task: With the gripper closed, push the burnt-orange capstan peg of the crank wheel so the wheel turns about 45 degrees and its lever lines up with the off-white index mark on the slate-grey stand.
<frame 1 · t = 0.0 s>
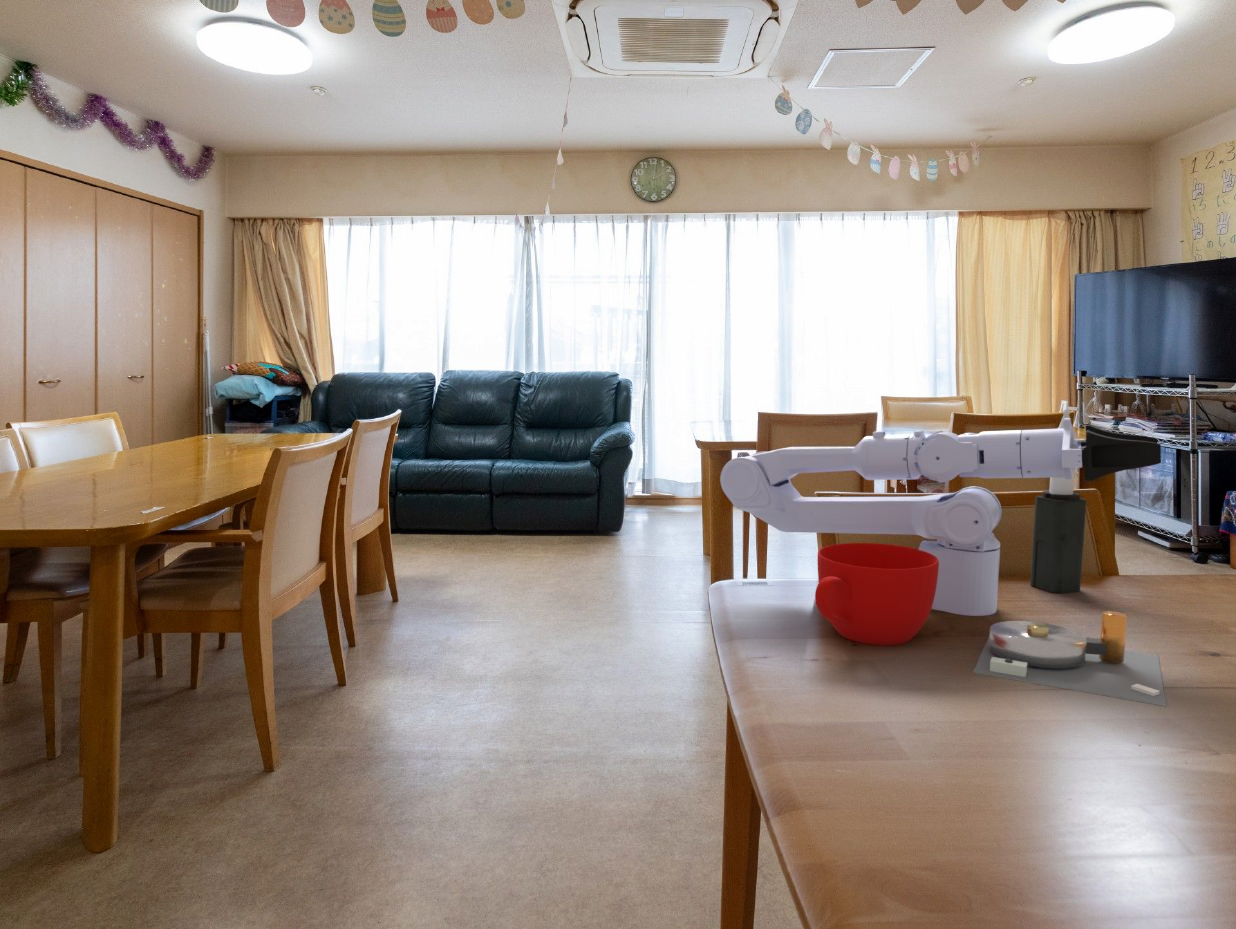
hand: (1159, 450, 93), 22 cm above the table, tool horizontal, fingers open, 7 cm apart
crank wheel: (1056, 632, 86), point 4 cm above the table, hinge at 45.0°
ceramic cup: (863, 647, 93), on the table
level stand: (1067, 673, 85), on the table
candle: (1054, 589, 117), on the table
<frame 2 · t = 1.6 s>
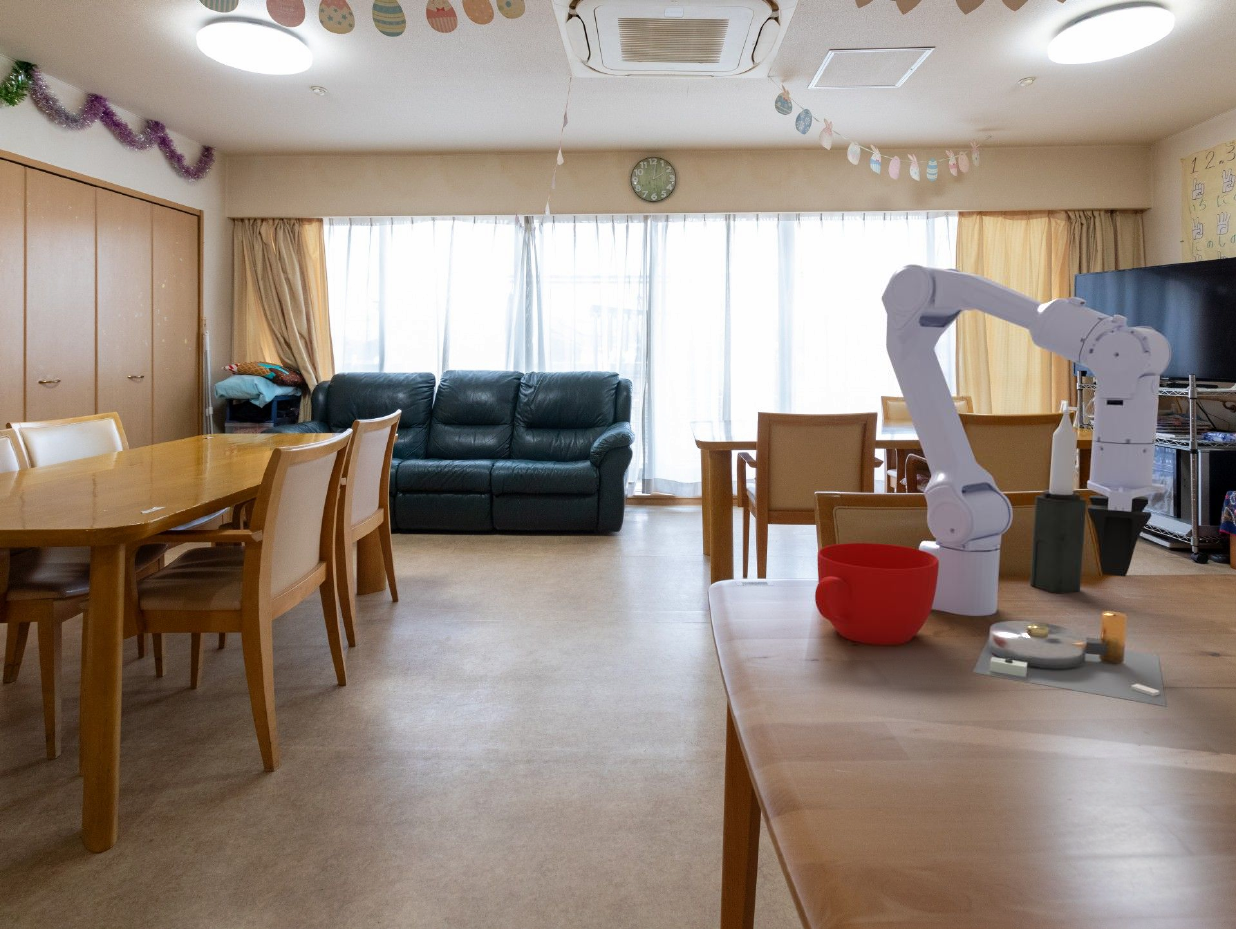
hand: (1113, 567, 90), 9 cm above the table, tool pointing down, fingers open, 7 cm apart
nothing on the table moved.
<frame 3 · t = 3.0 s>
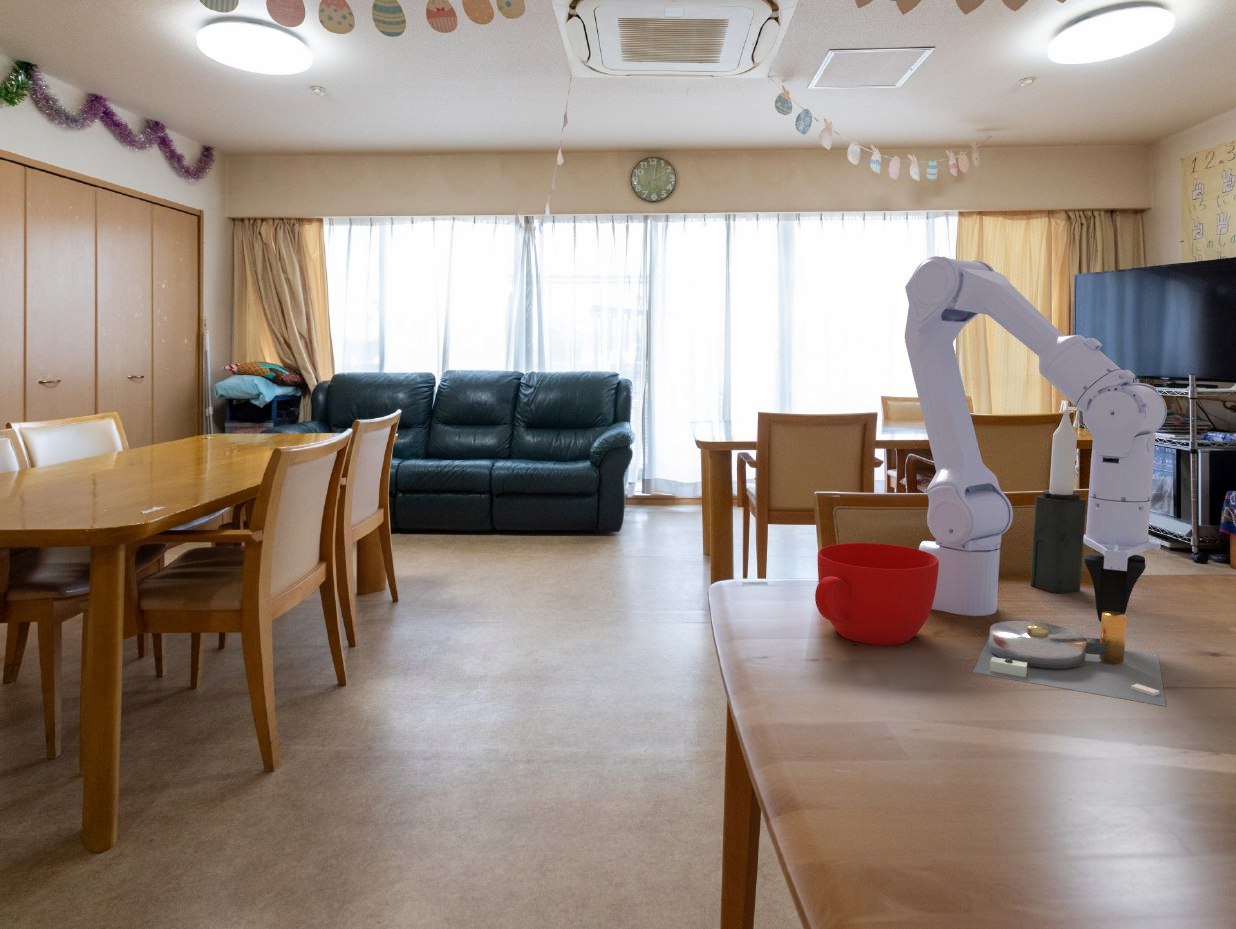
hand: (1109, 621, 91), 3 cm above the table, tool pointing down, fingers closed
nothing on the table moved.
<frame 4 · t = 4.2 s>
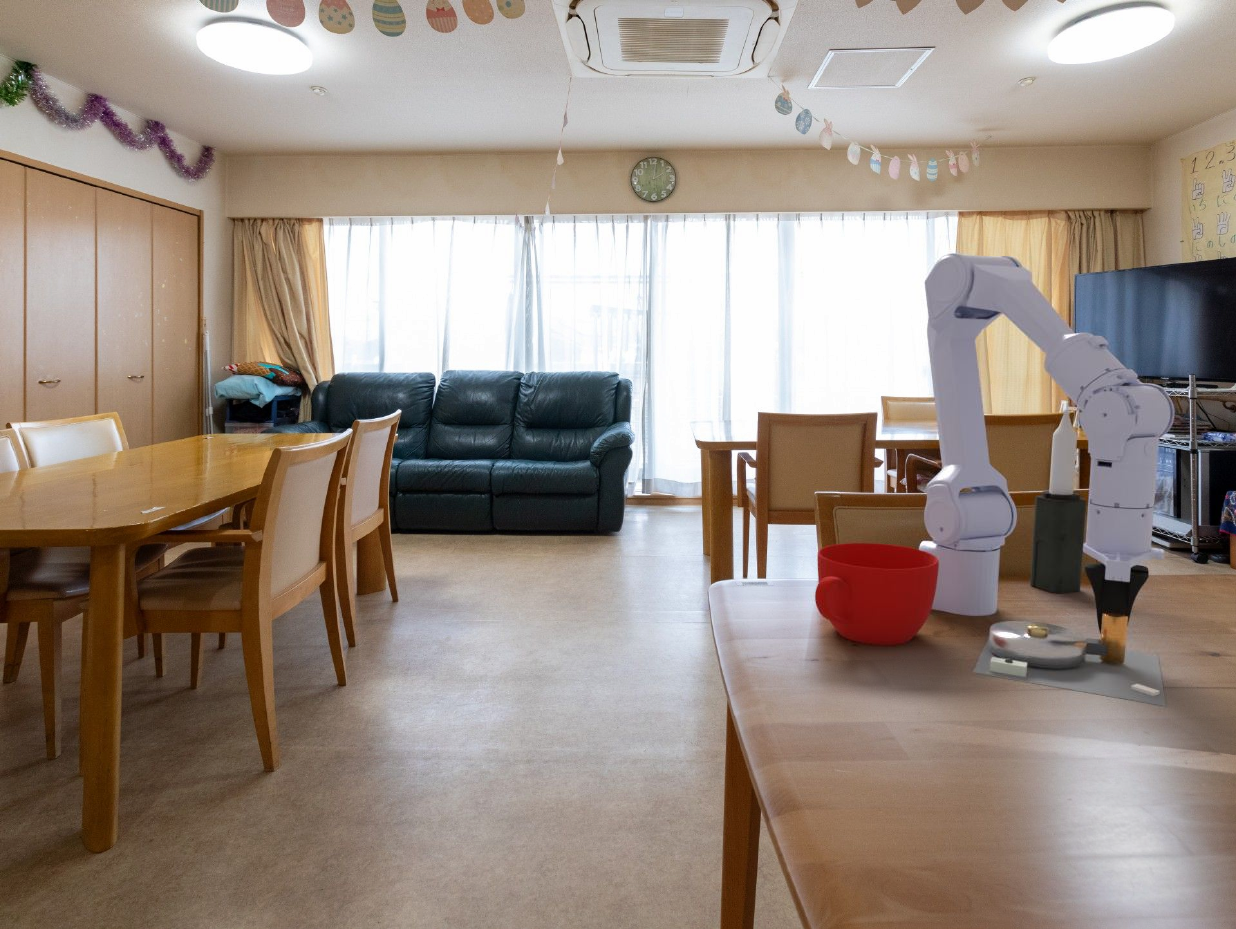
hand: (1111, 634, 86), 3 cm above the table, tool pointing down, fingers closed, pressing on crank wheel
crank wheel: (1056, 632, 86), point 4 cm above the table, hinge at 43.1°, touching gripper
everything else where it was.
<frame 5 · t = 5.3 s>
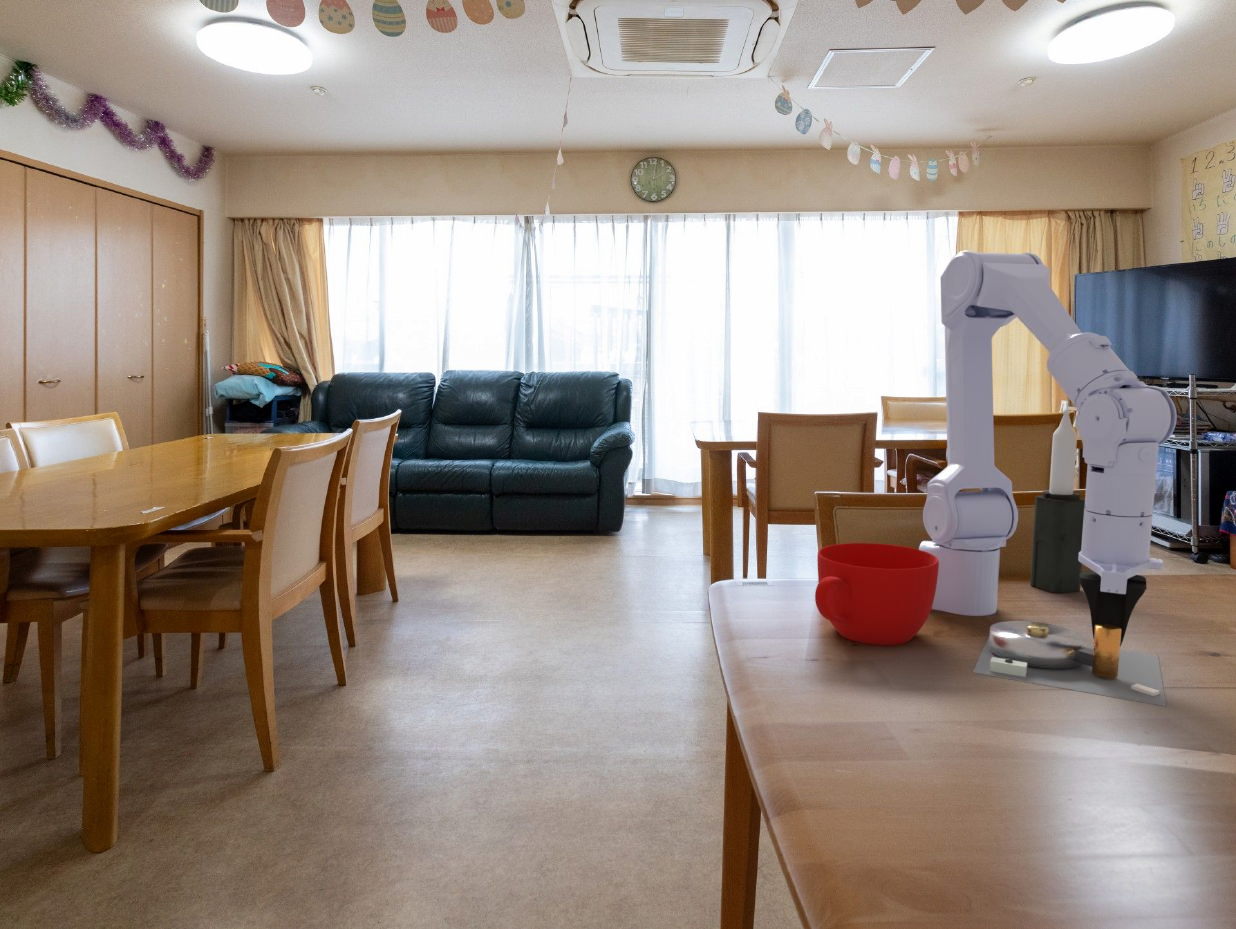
hand: (1107, 647, 83), 3 cm above the table, tool pointing down, fingers closed
crank wheel: (1054, 635, 85), point 4 cm above the table, hinge at 2.7°, touching gripper
everything else where it was.
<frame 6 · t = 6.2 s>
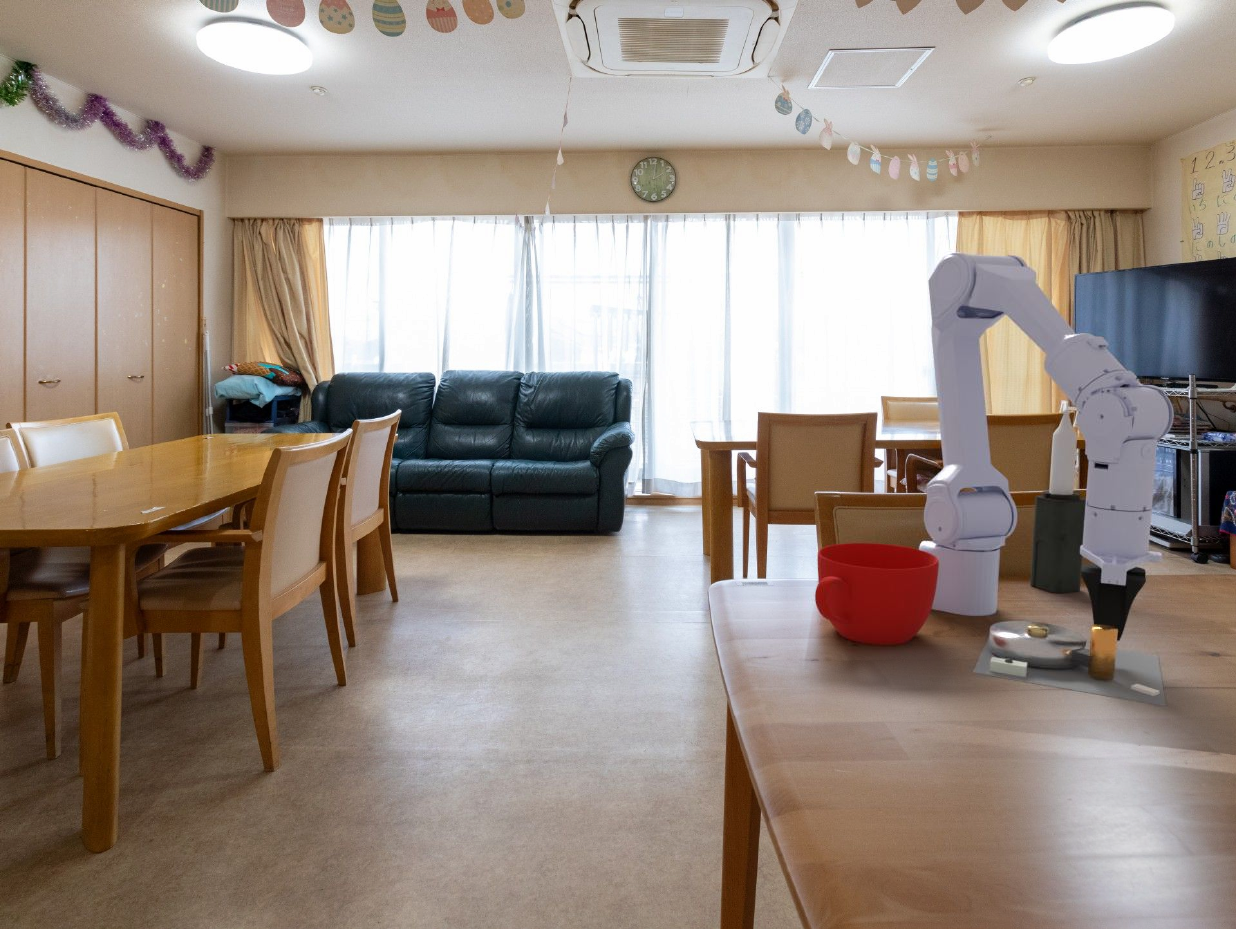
hand: (1107, 637, 86), 3 cm above the table, tool pointing down, fingers closed
crank wheel: (1053, 635, 85), point 4 cm above the table, hinge at -2.4°
everything else where it was.
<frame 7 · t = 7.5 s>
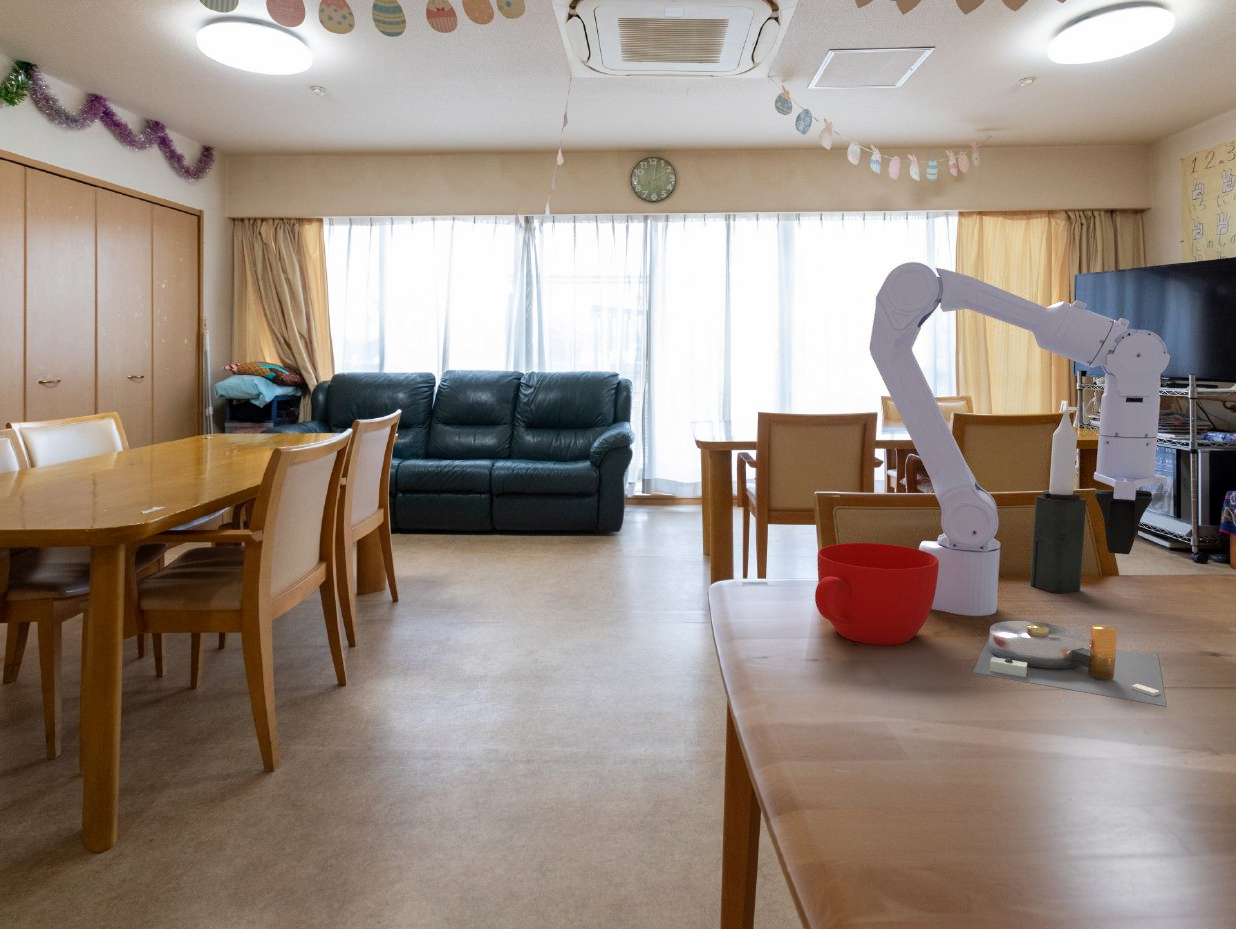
hand: (1118, 552, 97), 9 cm above the table, tool pointing down, fingers closed
nothing on the table moved.
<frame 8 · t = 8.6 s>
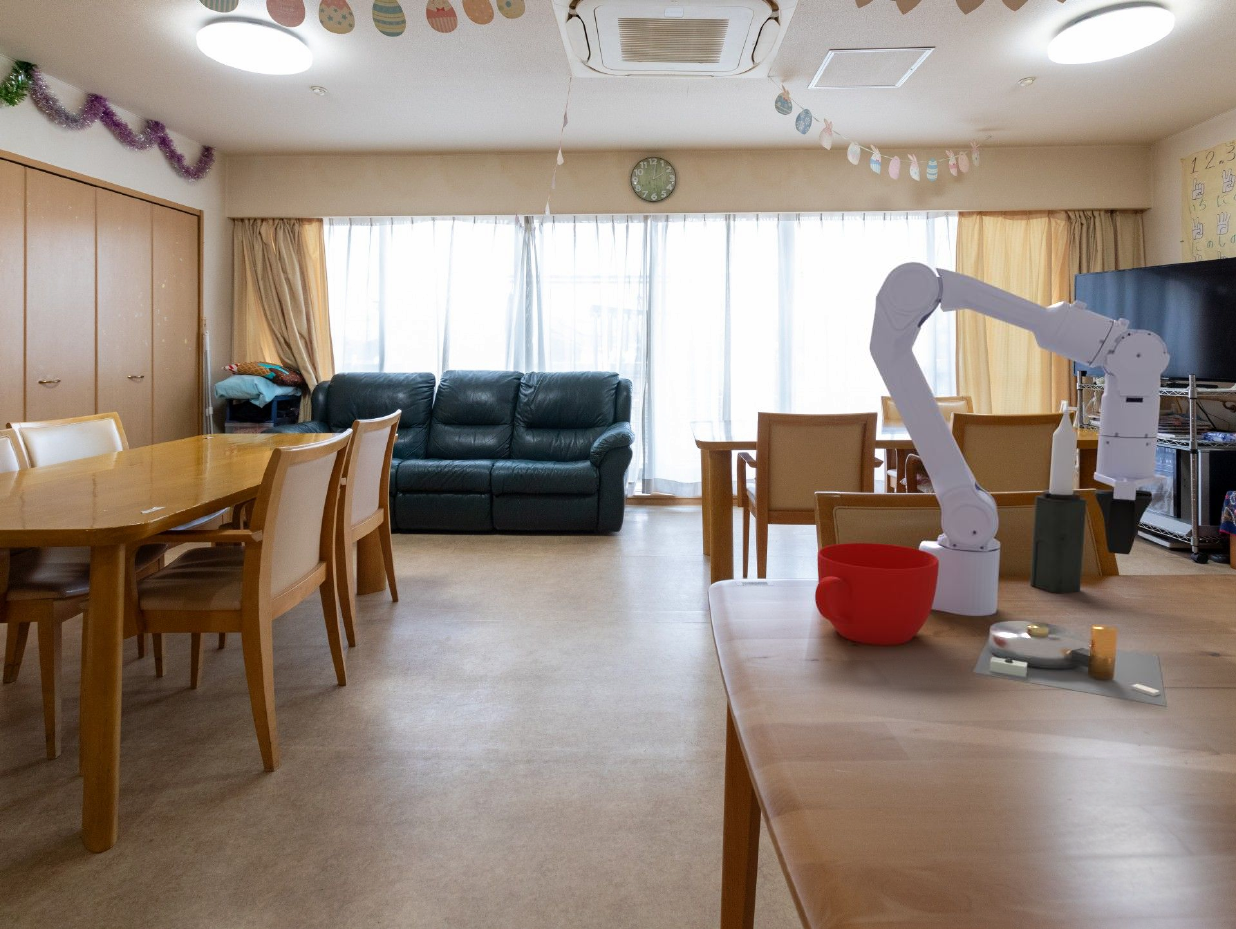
hand: (1118, 552, 97), 9 cm above the table, tool pointing down, fingers closed
nothing on the table moved.
at the end: crank wheel at -3° (first picture: +45°) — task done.
